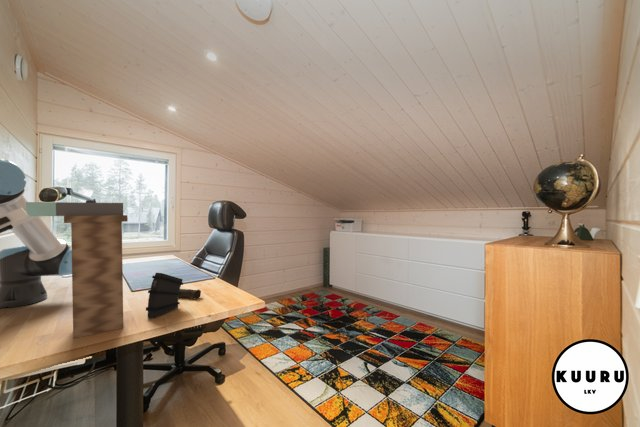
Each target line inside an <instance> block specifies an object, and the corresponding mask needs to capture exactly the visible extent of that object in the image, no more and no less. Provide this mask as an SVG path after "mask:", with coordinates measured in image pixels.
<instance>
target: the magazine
mask: <svg viewBox="0 0 640 427" xmlns="http://www.w3.org/2000/svg"><path fill="white" fill-rule="evenodd" d="M151 278H152V279H153V280H152V282H151V286H150V289H148V291H147V294H149V295H148V302H147V306H146V307H145V311H147V318H150V319H155V318H157V317H158V318H159V317H160V316H162V315H165V314H167V313H170V312H172V311H174V310H177V309H178V308H179V305H180V304H181V302H179V297H178V296H179V295H180V294H181V293H179V290H180V289H181V286H183V285H184V282H183V280H184V279H183V278H180V277H176V276H172V275H169V274H166V273H161V272H155V274H154V275H152V277H151Z"/></svg>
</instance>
